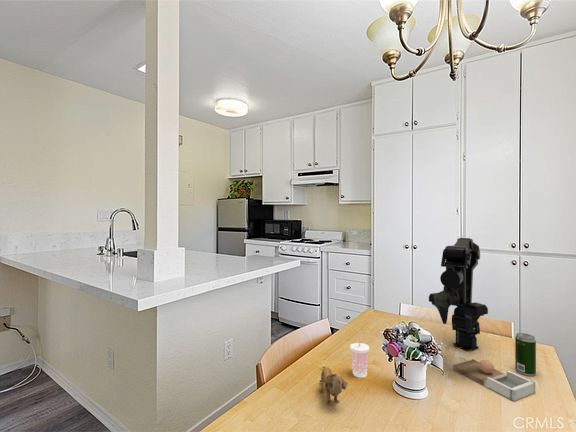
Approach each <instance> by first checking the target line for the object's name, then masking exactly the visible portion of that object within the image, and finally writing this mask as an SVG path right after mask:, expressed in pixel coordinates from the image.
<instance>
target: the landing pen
mask: <svg viewBox="0 0 576 432" xmlns="http://www.w3.org/2000/svg"><path fill="white" fill-rule="evenodd" d="M506 374H507V380H505V381H502V382H498V381H496V380H494V379H492V378H490V377H487V387H486V388H487V389H489V390H491V391H493V392H494V393H496V394H498V395H501V396H503V397H505V398H506V399H508V400H511V401H512V402H515V401H518V400H521V399H523V398H526V397H528V396H530V395H534V394H536V382H535V381H532V380H531V379H528V378H526V377H524V376H522V375H519V374H517V373H514V372H512V371H510V370H507V371H506Z"/></svg>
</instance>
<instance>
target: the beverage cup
mask: <svg viewBox="0 0 576 432" xmlns="http://www.w3.org/2000/svg"><path fill="white" fill-rule="evenodd" d="M350 351H351V364H352V374H354V375H353V376H354V377H357V378H360V379H361V378H366V377H367V376H368V366H369V365H368V362H369V351H370V346H369V345H368V344H366V343H363V342H361V331H358V342H354V343H351V344H350Z"/></svg>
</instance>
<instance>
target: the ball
mask: <svg viewBox="0 0 576 432" xmlns="http://www.w3.org/2000/svg"><path fill="white" fill-rule="evenodd" d="M479 362H480V363H479V367H480V369H481V370H482V371H483V372H484V373H492V372H493V370H494V369H495V367H494V364H493V363H492V361H490V360H488V359H481V360H480V361H479Z"/></svg>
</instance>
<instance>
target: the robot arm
mask: <svg viewBox="0 0 576 432" xmlns="http://www.w3.org/2000/svg"><path fill="white" fill-rule="evenodd" d="M479 260H481V250H480V246H479V245H477V244H476V243H475V242H474V240H473V238H471V237H470V238H469V237H459V238H457V240H456V242H455V244H453V245H446V246H445V248H444V249H443V250H442V256H441V262H440V267H443V268H445V271H442V273H441V274H440V276H439V277H440V280H439V281H440V282H441V284H442V285H443V289H442V290H441V291H439V292H434V293H433V292H432V293H430V294H429V295H428V302H430V303H431V305H433V306H434V307H435V308H436V309H437V311H438V313H439V316H440V319H441V321H442V324H443V325H446V324H447V322H448V316H449V308H450V307H451V306H453V307H455V308H453V309H454V310H453V314H452V315H451V329H452V331H455V342H453V343H452V345H453V346H455V347H457V348H460V349H461V350H465V351H467V352H469V351H472V350H475V349H479V346H478V344H477V342H478V341H477V339H478V338H477V335H480V334H481V328H480V327H481V326H480V322H479V319H480V318H481V317H482V316H485V315H488V314H489V309H488V308H489V307H488V306H487V305H486V304H482V303H479V302H472V301H473V286H474V285H473V284H474V283H473V279H474V270H475V269H476V267H477V266H478V265H479Z"/></svg>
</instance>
